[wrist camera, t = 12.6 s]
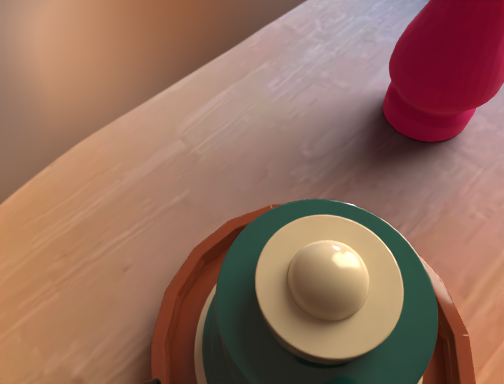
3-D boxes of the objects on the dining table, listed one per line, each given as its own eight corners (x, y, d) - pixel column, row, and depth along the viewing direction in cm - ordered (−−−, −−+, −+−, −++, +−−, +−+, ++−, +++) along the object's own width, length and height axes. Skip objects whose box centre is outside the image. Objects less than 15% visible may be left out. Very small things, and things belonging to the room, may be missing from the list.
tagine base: (523, 445, 17) (560, 451, 14) (211, 607, 15) (198, 643, 12) (358, 190, 24) (365, 168, 22) (139, 273, 22) (123, 259, 20)
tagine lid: (463, 419, 16) (803, 447, 6) (240, 529, 15) (136, 838, 4) (346, 221, 22) (406, 49, 11) (176, 288, 21) (61, 163, 10)
